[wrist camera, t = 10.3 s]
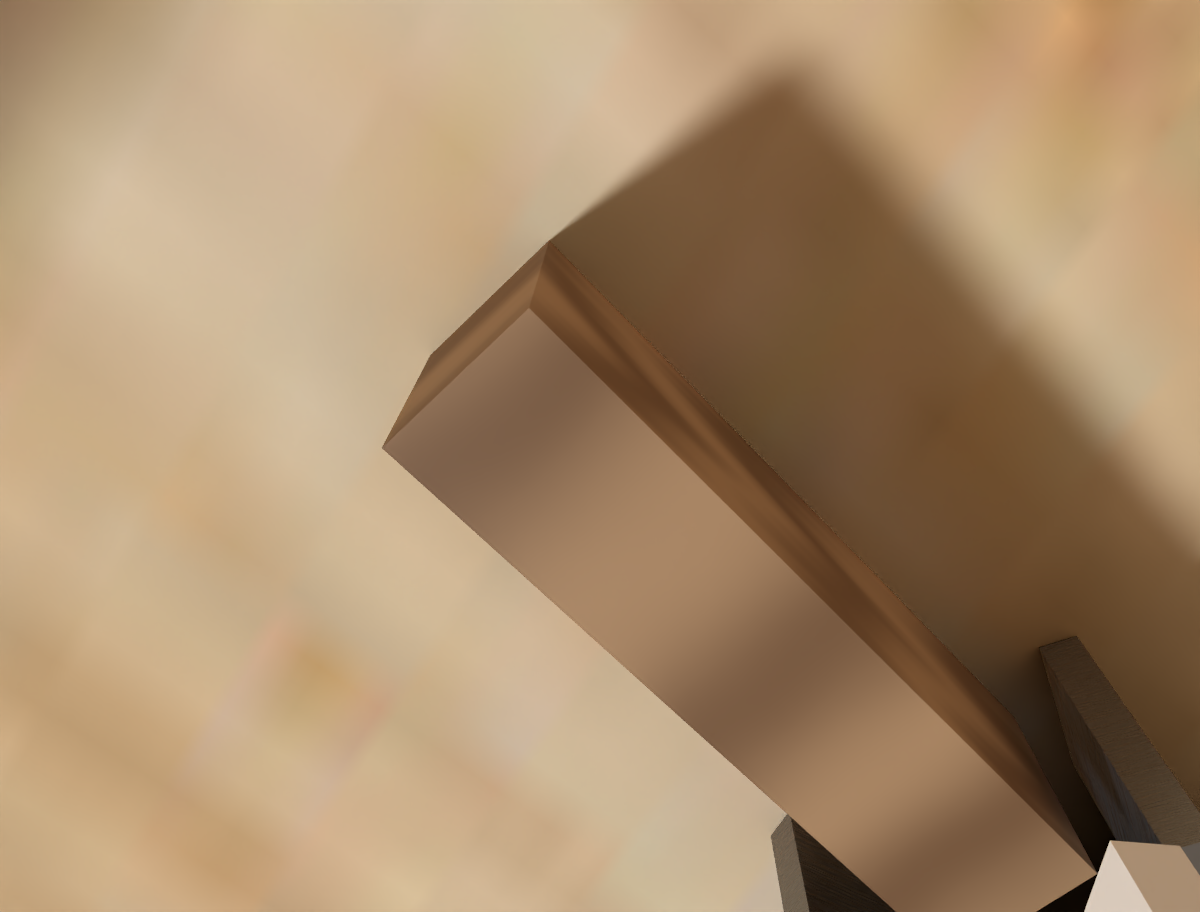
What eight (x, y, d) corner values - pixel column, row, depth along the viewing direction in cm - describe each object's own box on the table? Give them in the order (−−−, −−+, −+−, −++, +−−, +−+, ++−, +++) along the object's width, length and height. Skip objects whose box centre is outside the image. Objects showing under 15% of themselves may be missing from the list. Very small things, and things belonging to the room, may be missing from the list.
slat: (431, 352, 27) (382, 447, 21) (549, 238, 26) (528, 307, 20) (895, 792, 32) (953, 962, 26) (1011, 712, 30) (1097, 873, 25)
